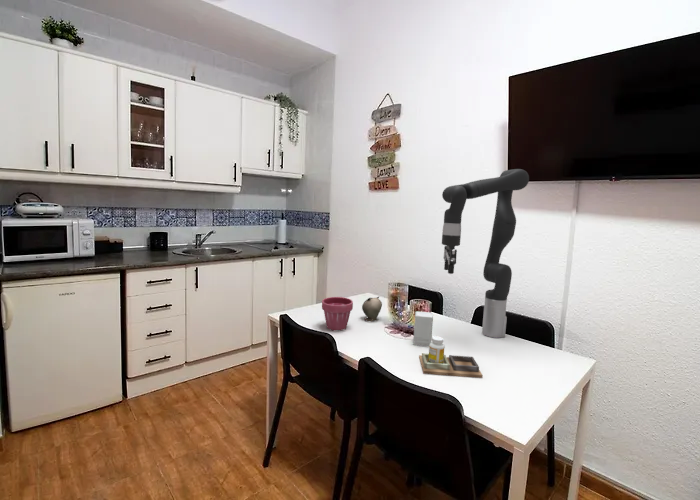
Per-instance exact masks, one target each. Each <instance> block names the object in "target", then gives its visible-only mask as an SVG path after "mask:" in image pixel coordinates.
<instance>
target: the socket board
mask: <svg viewBox="0 0 700 500" xmlns="http://www.w3.org/2000/svg"><path fill="white" fill-rule="evenodd" d="M428 356H429V353H421V354H420V355H418V358H419V362H420V367H421V371H422V374H424V375H437V376H450V377H464V378H477V379H483V373H482V372H481V370H480V366H479V364H478V362H477V361H476V360H475V358H474V356H468V355H467V356H465V355H455V354H453V355H451V354H449V356H447V355H446V354H444V358H443V364H441V363H428Z"/></svg>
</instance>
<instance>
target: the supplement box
mask: <svg viewBox="0 0 700 500" xmlns="http://www.w3.org/2000/svg"><path fill="white" fill-rule="evenodd" d="M414 314H415V316H414V326H413V329H414V330H413V342H412V343H413V346H420V347H427V348H429V345H430V343H431V342H432V337H433V324H434V315H433V312H430V311H429V312H428V311H427V312H426V311H415V313H414Z"/></svg>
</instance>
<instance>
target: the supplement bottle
mask: <svg viewBox="0 0 700 500" xmlns="http://www.w3.org/2000/svg"><path fill="white" fill-rule="evenodd" d="M428 354H429V356H428V363H441V364H443V358H444V355H445V344H444V338H443V337H442V336H437V335H433V336H432V340H431V343H430V345H429V347H428Z"/></svg>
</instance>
